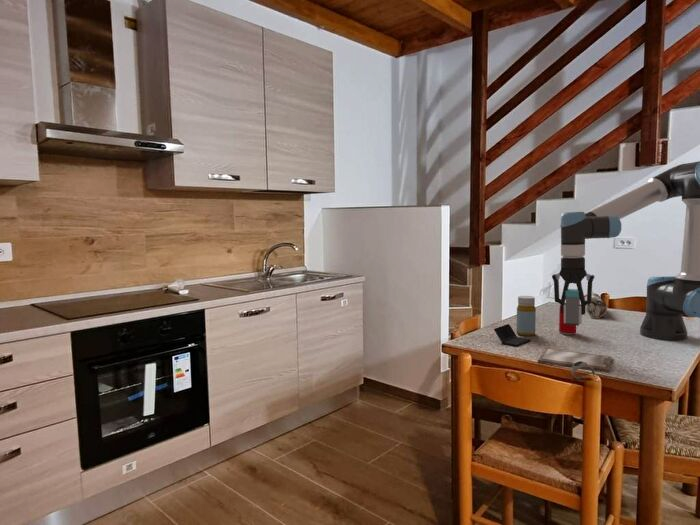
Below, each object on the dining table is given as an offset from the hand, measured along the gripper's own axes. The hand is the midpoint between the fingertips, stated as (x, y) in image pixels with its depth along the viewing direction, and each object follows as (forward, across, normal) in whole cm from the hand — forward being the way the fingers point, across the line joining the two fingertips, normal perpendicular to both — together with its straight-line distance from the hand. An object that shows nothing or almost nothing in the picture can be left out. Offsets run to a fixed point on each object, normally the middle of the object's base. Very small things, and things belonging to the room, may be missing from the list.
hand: (572, 322), depth 162 cm
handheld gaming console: (+9, +21, 0) cm, 23 cm away
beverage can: (+10, +5, -22) cm, 25 cm away
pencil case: (+11, -1, -68) cm, 69 cm away
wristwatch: (+9, -6, +32) cm, 33 cm away
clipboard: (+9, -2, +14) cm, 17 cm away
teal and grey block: (0, 0, 0) cm, 0 cm away
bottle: (+9, +19, -14) cm, 25 cm away
